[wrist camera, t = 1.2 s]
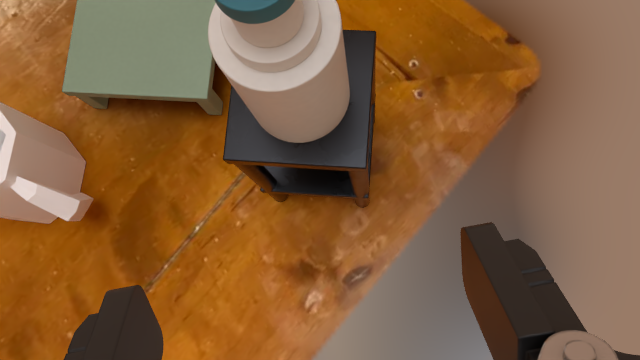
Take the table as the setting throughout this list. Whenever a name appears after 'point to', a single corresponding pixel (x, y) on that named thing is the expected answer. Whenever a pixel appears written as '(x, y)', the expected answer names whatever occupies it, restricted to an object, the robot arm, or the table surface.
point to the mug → (38, 171)
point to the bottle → (284, 63)
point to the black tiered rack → (319, 155)
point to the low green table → (142, 52)
